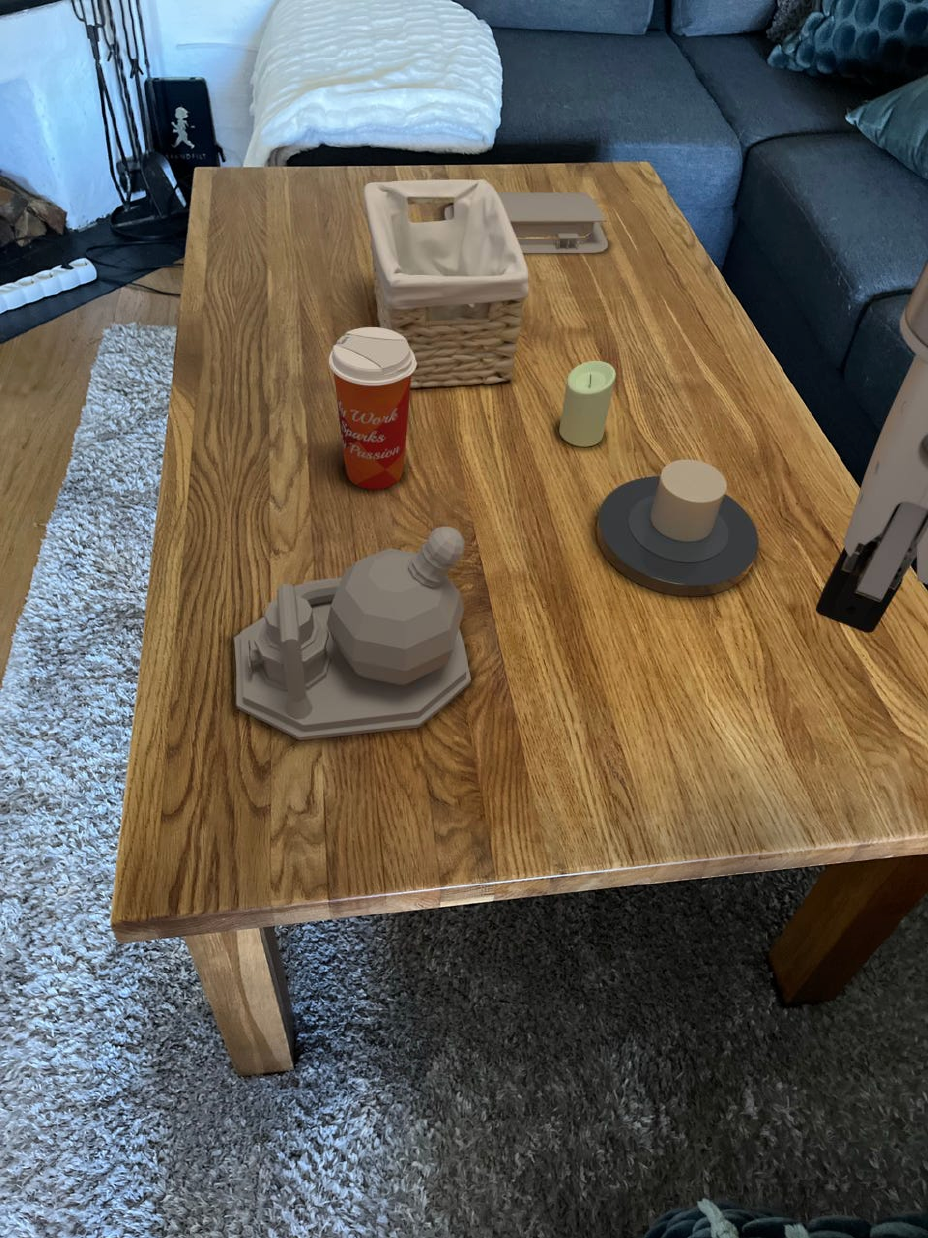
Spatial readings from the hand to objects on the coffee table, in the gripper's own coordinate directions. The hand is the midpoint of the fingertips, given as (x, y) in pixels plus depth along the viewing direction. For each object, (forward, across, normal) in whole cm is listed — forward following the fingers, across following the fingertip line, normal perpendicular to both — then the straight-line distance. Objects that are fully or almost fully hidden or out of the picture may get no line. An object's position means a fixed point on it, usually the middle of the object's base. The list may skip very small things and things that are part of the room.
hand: (845, 613), depth 52 cm
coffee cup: (+27, +24, +46) cm, 59 cm away
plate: (+27, +31, +15) cm, 44 cm away
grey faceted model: (+27, +1, +34) cm, 44 cm away
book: (+27, +83, +57) cm, 104 cm away
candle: (+27, +42, +30) cm, 58 cm away
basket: (+27, +50, +53) cm, 78 cm away
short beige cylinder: (+25, +32, +15) cm, 44 cm away
